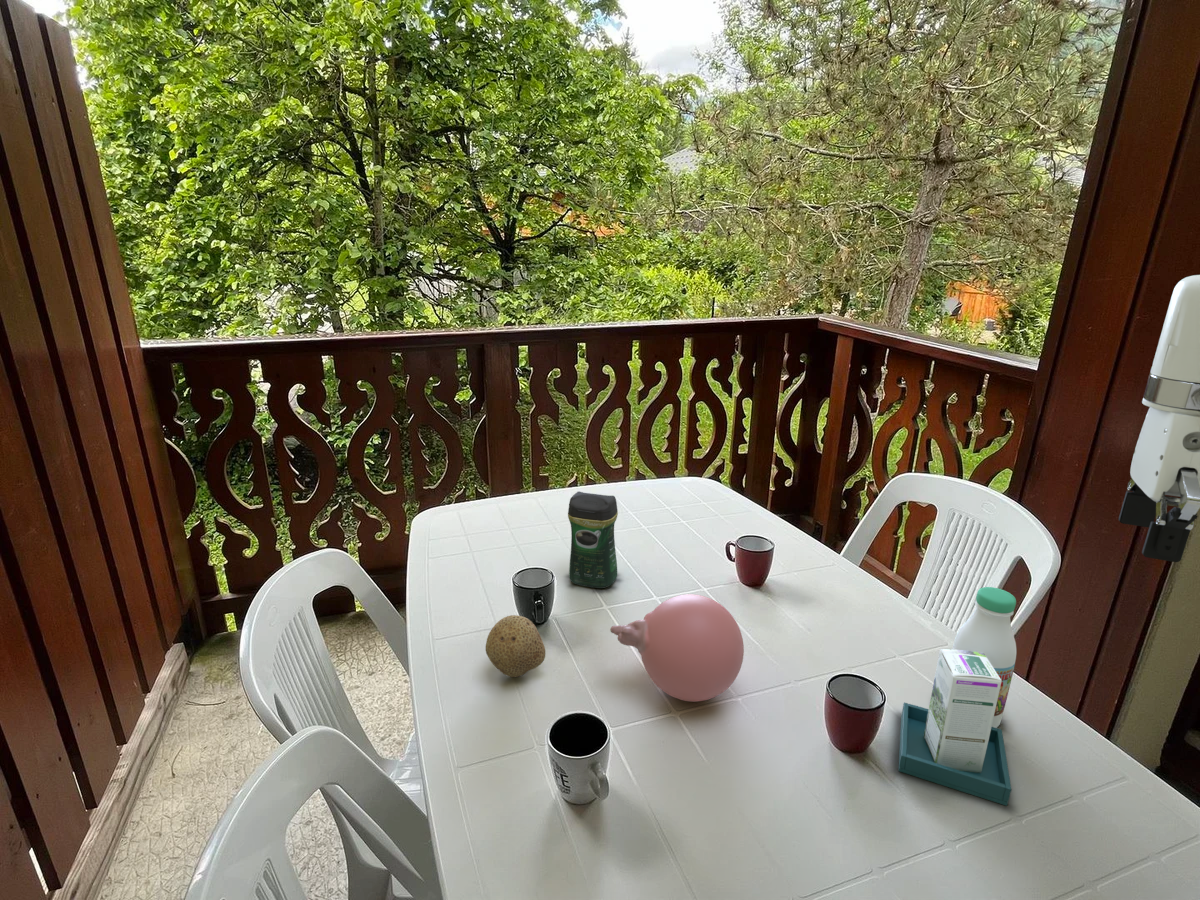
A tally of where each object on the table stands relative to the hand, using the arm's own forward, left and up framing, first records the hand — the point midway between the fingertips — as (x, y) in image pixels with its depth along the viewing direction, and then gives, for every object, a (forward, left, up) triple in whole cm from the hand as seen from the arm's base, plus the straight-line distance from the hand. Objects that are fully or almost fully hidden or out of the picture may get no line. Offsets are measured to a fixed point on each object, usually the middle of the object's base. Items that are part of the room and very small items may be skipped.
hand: (1146, 540), depth 73 cm
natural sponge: (+77, +16, -34) cm, 85 cm away
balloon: (+53, +8, -34) cm, 63 cm away
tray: (+15, +5, -33) cm, 37 cm away
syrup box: (+15, +5, -33) cm, 37 cm away
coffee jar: (+79, -16, -34) cm, 87 cm away
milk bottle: (+12, -6, -34) cm, 36 cm away
